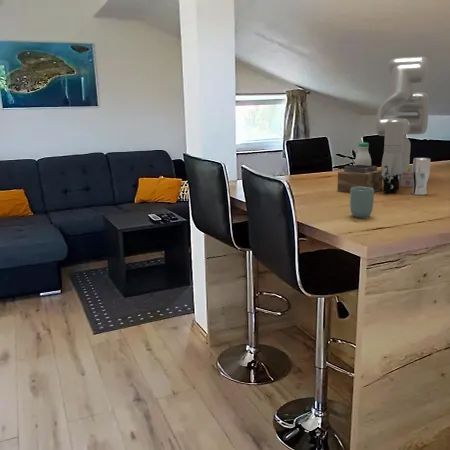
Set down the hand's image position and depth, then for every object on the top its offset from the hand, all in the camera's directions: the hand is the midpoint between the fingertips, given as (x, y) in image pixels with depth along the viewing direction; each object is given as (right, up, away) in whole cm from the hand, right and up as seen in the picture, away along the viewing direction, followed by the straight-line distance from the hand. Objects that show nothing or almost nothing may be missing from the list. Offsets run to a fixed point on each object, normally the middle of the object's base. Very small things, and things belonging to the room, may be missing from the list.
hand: (390, 190), depth 210 cm
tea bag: (+12, +3, +13) cm, 18 cm away
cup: (-25, -12, -41) cm, 49 cm away
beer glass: (+11, -2, -4) cm, 12 cm away
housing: (-12, 0, +7) cm, 14 cm away
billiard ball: (0, -1, 0) cm, 1 cm away
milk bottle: (-7, +4, +21) cm, 22 cm away
